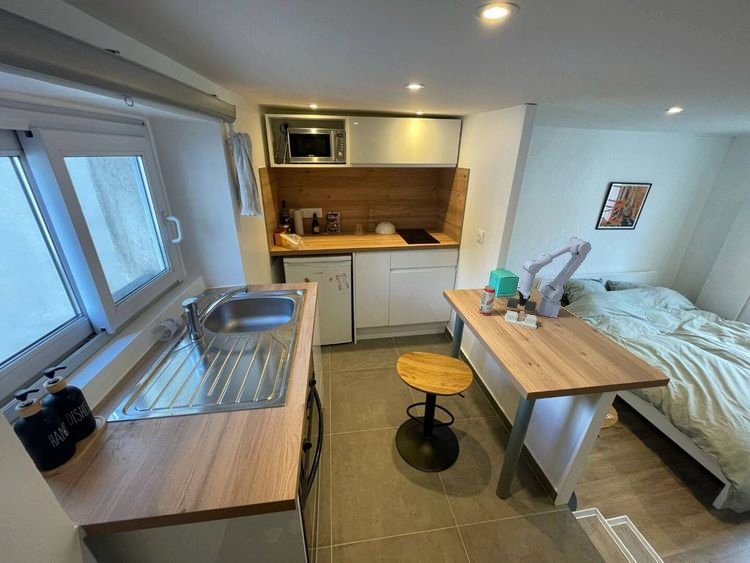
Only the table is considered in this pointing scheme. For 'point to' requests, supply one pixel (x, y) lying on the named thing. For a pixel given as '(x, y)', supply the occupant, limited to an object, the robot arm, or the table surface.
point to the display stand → (521, 319)
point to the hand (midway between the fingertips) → (521, 304)
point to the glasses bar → (514, 302)
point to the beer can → (487, 300)
